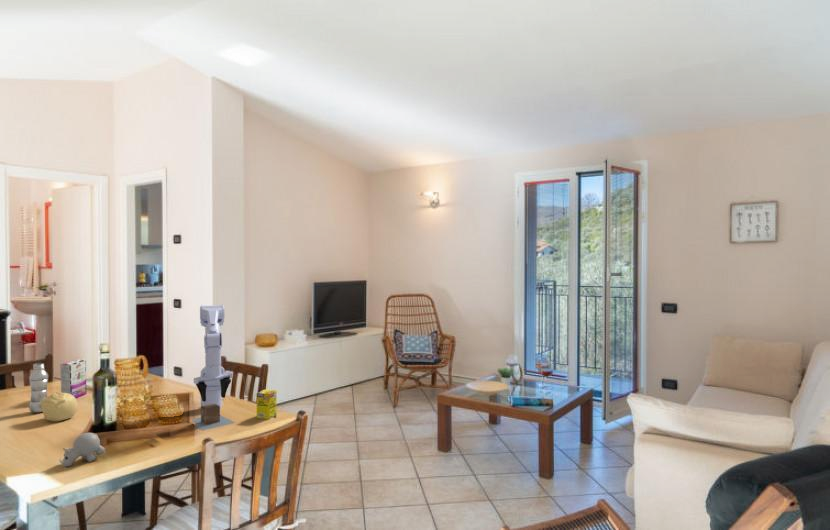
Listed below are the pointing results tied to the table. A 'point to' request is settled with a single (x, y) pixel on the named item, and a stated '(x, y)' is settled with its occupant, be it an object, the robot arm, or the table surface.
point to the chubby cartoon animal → (83, 449)
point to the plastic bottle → (38, 387)
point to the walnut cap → (210, 414)
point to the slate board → (204, 427)
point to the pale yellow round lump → (59, 406)
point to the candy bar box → (74, 377)
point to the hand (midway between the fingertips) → (213, 399)
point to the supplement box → (266, 404)
